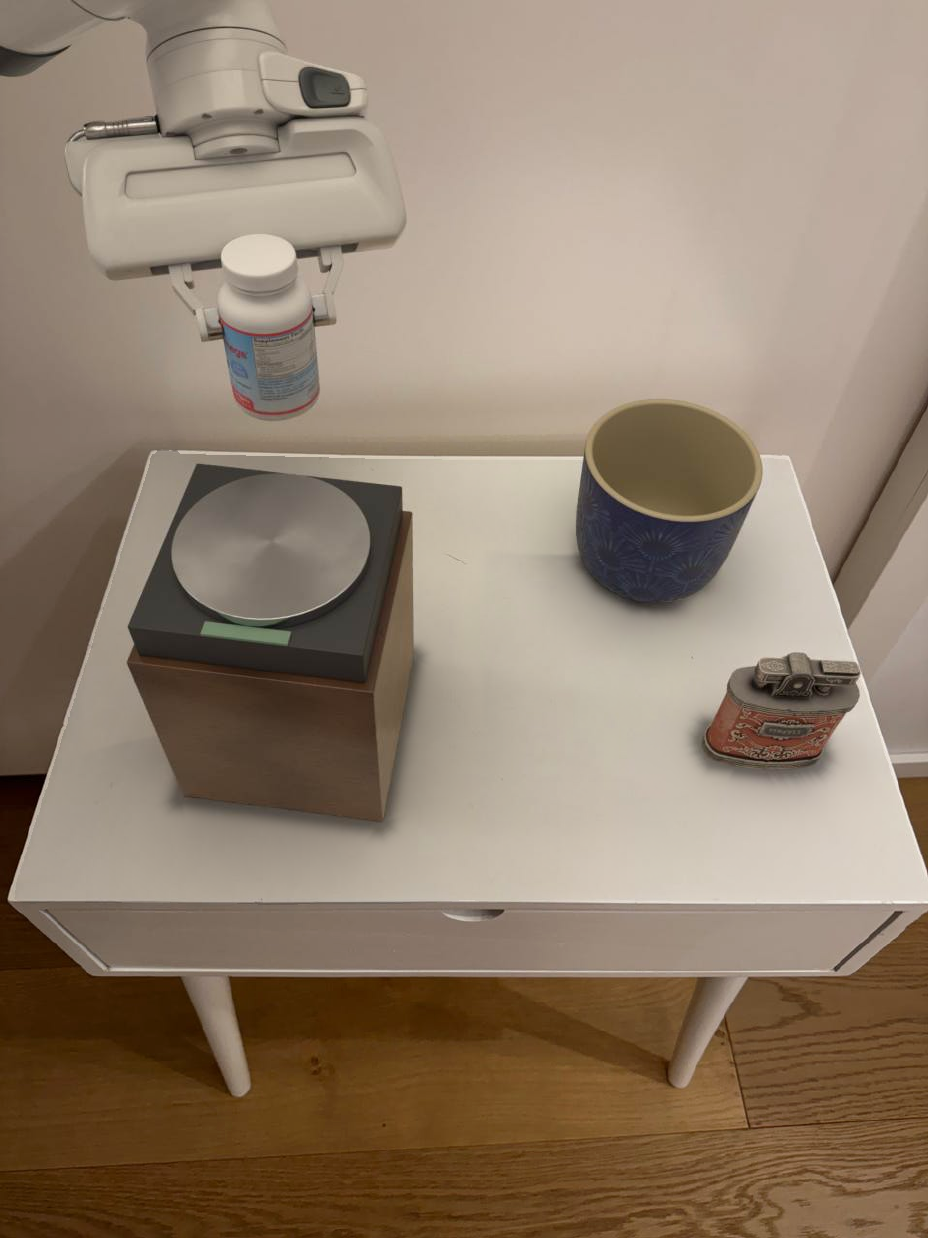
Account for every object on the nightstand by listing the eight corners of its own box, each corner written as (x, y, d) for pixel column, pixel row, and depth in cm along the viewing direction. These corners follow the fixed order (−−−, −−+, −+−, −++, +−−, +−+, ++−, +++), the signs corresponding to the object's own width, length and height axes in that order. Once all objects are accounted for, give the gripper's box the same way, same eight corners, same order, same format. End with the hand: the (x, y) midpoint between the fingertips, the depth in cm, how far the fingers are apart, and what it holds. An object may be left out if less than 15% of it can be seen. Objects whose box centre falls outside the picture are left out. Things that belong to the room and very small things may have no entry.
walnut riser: (182, 796, 61) (125, 662, 49) (236, 635, 69) (198, 486, 57) (382, 822, 61) (373, 693, 49) (413, 656, 69) (412, 511, 57)
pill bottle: (227, 376, 69) (200, 232, 60) (311, 363, 70) (296, 220, 61) (242, 431, 66) (215, 287, 57) (329, 417, 67) (316, 273, 58)
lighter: (704, 766, 64) (745, 684, 56) (698, 723, 66) (736, 637, 58) (824, 772, 64) (881, 690, 56) (814, 728, 66) (868, 643, 58)
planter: (736, 526, 78) (775, 422, 69) (706, 640, 70) (747, 541, 62) (589, 485, 80) (610, 380, 71) (546, 592, 73) (563, 490, 64)
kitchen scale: (138, 655, 50) (122, 617, 47) (204, 493, 57) (193, 452, 54) (365, 683, 49) (362, 646, 46) (403, 516, 56) (402, 475, 54)
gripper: (47, 103, 56) (100, 345, 58) (389, 76, 60) (426, 302, 62) (66, 143, 62) (113, 360, 64) (375, 115, 66) (410, 320, 68)
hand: (270, 331), depth 63 cm, fingers closed on pill bottle, 6 cm apart
